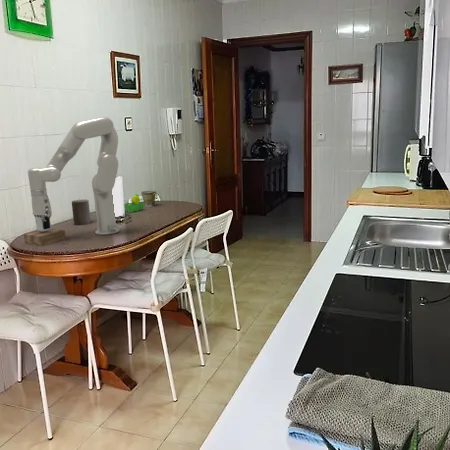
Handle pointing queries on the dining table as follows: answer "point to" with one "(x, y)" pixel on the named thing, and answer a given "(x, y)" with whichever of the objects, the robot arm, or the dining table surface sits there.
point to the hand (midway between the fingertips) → (44, 227)
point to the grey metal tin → (40, 223)
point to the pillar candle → (81, 212)
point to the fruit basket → (134, 204)
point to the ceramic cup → (149, 198)
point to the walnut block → (44, 237)
